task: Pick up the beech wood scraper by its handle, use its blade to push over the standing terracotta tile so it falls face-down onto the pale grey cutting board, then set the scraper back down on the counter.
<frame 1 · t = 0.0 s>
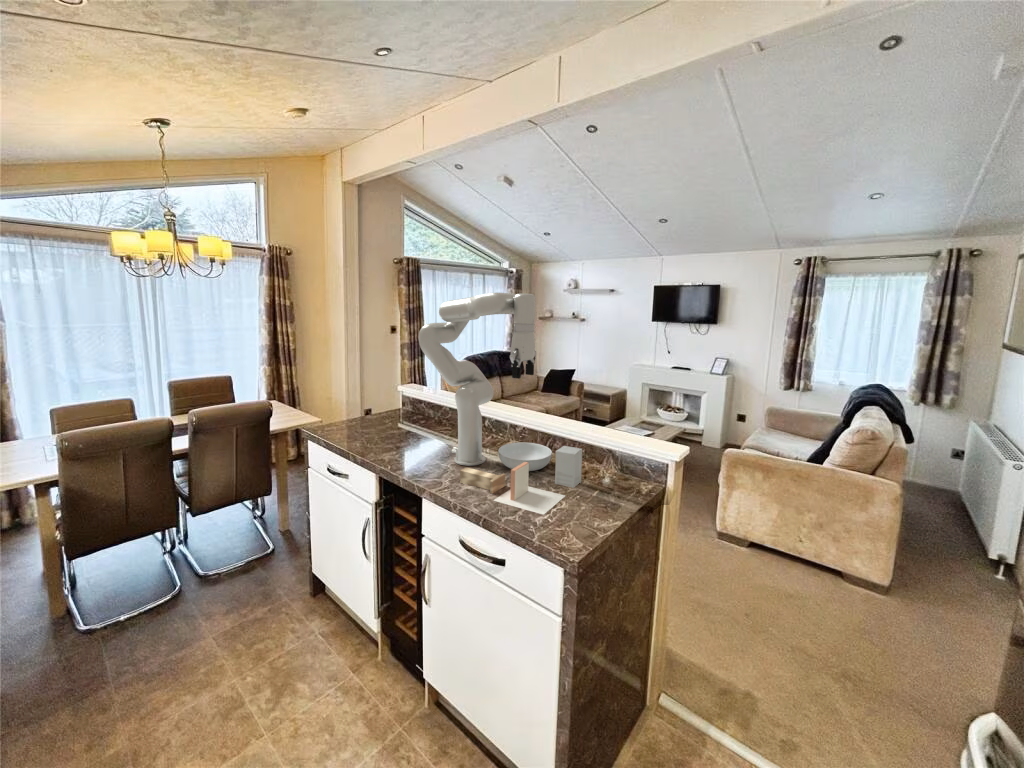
hand: (523, 376, 159), 37 cm above the counter, tool pointing down, fingers open, 9 cm apart
tile: (519, 495, 144), point 1 cm above the counter, touching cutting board
serving bowl: (524, 467, 171), on the counter
scraper: (491, 489, 150), on the counter
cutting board: (529, 499, 142), on the counter
supplement box: (567, 484, 156), on the counter
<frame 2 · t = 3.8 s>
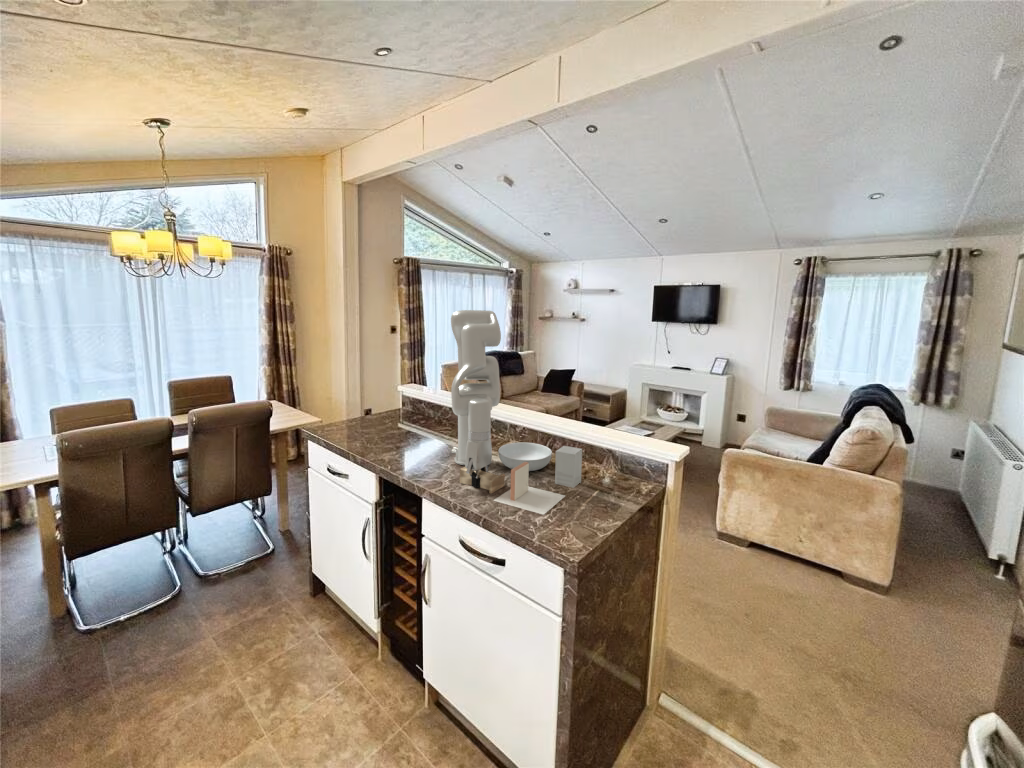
hand: (479, 485, 152), 0 cm above the counter, tool pointing down, fingers closed on scraper, 3 cm apart
scraper: (490, 489, 150), on the counter, touching gripper
everything else where it was.
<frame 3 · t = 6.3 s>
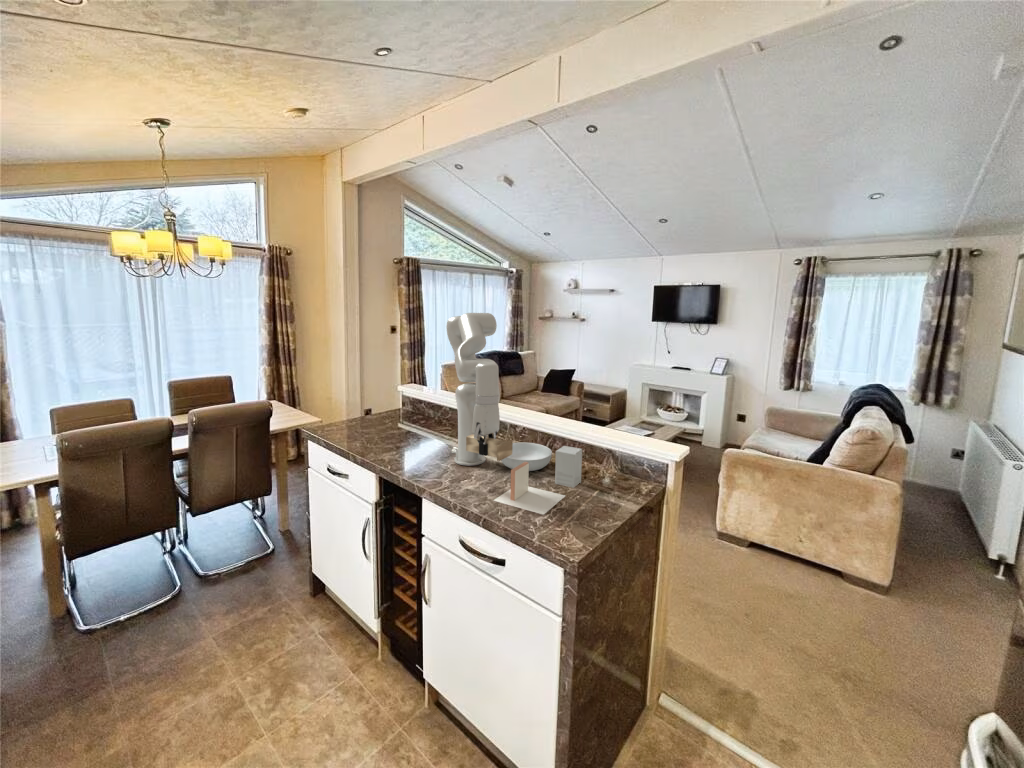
hand: (487, 452, 148), 13 cm above the counter, tool pointing down, fingers closed on scraper, 3 cm apart
scraper: (498, 455, 146), point 13 cm above the counter, touching gripper
everything else where it was.
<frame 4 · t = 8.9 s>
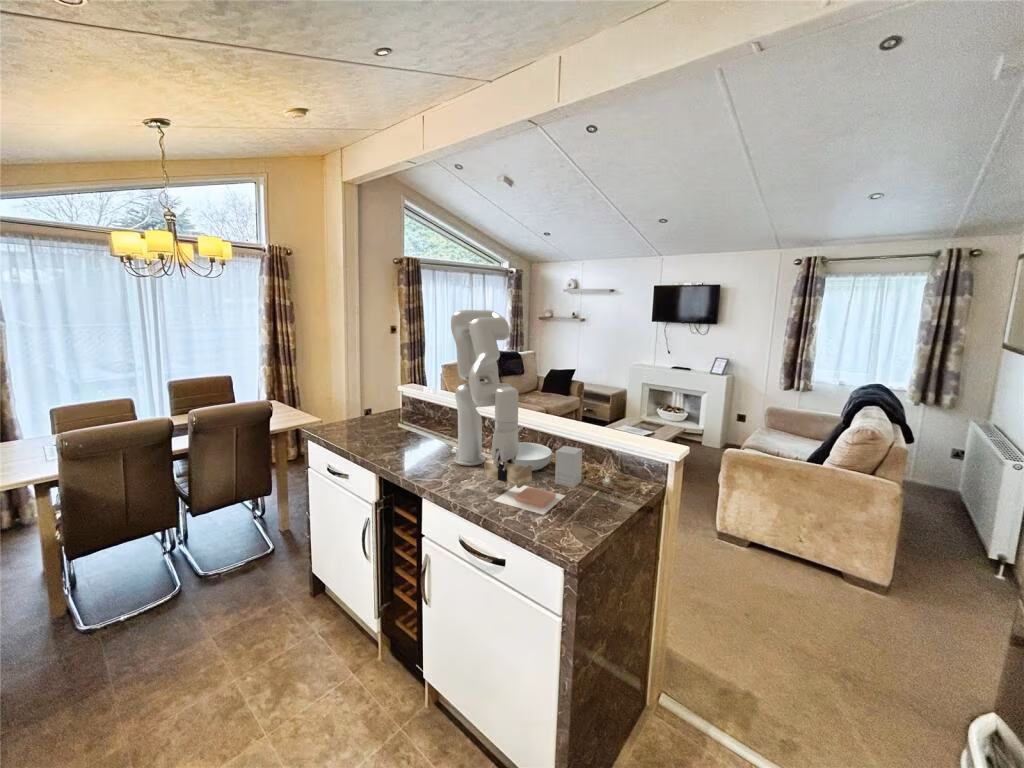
hand: (505, 478, 146), 5 cm above the counter, tool pointing down, fingers closed on scraper, 3 cm apart
tile: (522, 493, 143), point 2 cm above the counter, tilted 90°, touching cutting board
scraper: (517, 482, 144), point 5 cm above the counter, touching gripper
everything else where it was.
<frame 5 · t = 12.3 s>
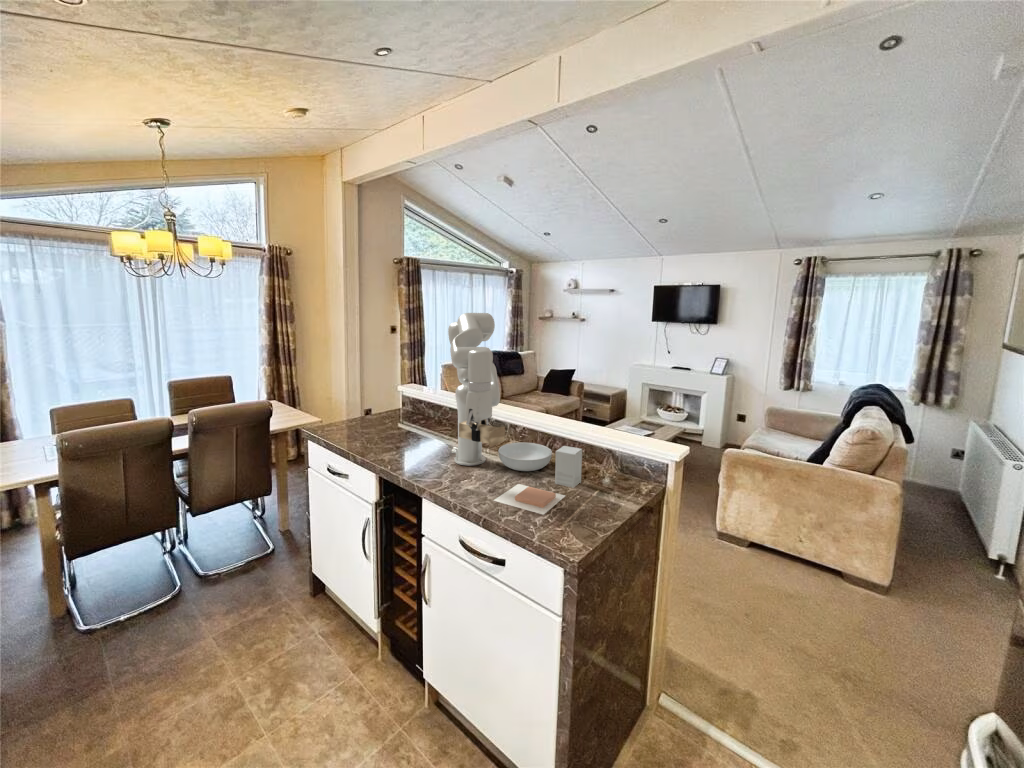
hand: (479, 439, 149), 17 cm above the counter, tool pointing down, fingers closed on scraper, 3 cm apart
scraper: (490, 442, 147), point 17 cm above the counter, touching gripper
everything else where it was.
when the fingers open (2 cm above the counter, at t = 15.4 s): scraper drops 2 cm, on the counter.
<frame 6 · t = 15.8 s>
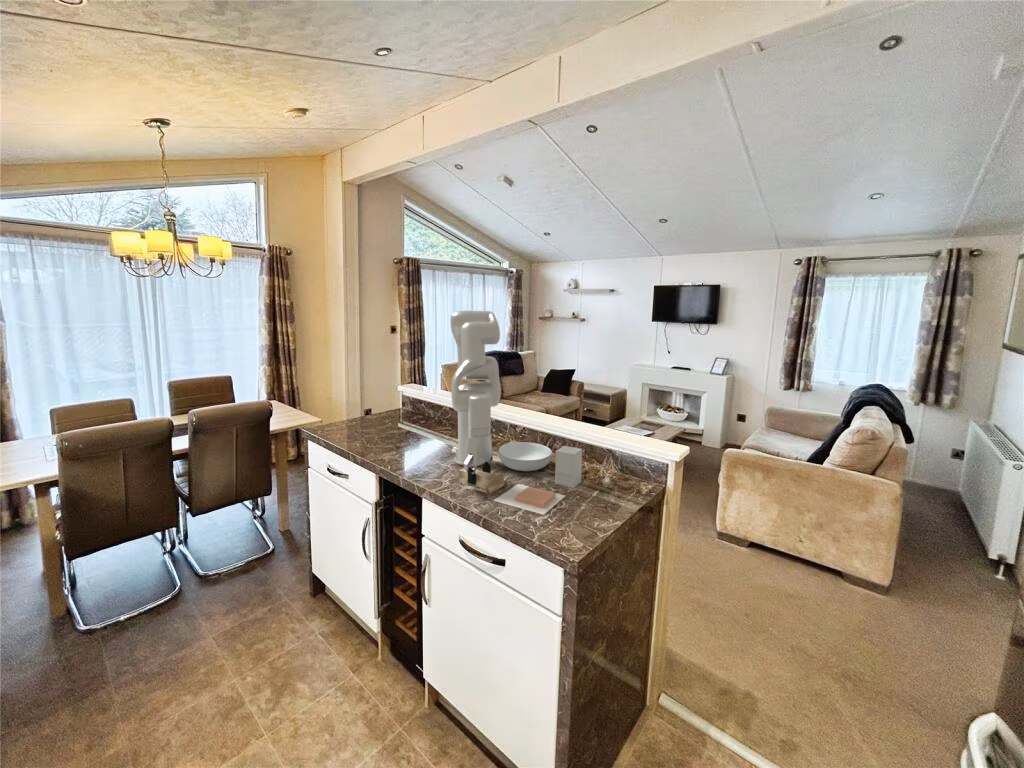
hand: (479, 479, 152), 2 cm above the counter, tool pointing down, fingers open, 8 cm apart
scraper: (490, 489, 150), on the counter
everything else where it was.
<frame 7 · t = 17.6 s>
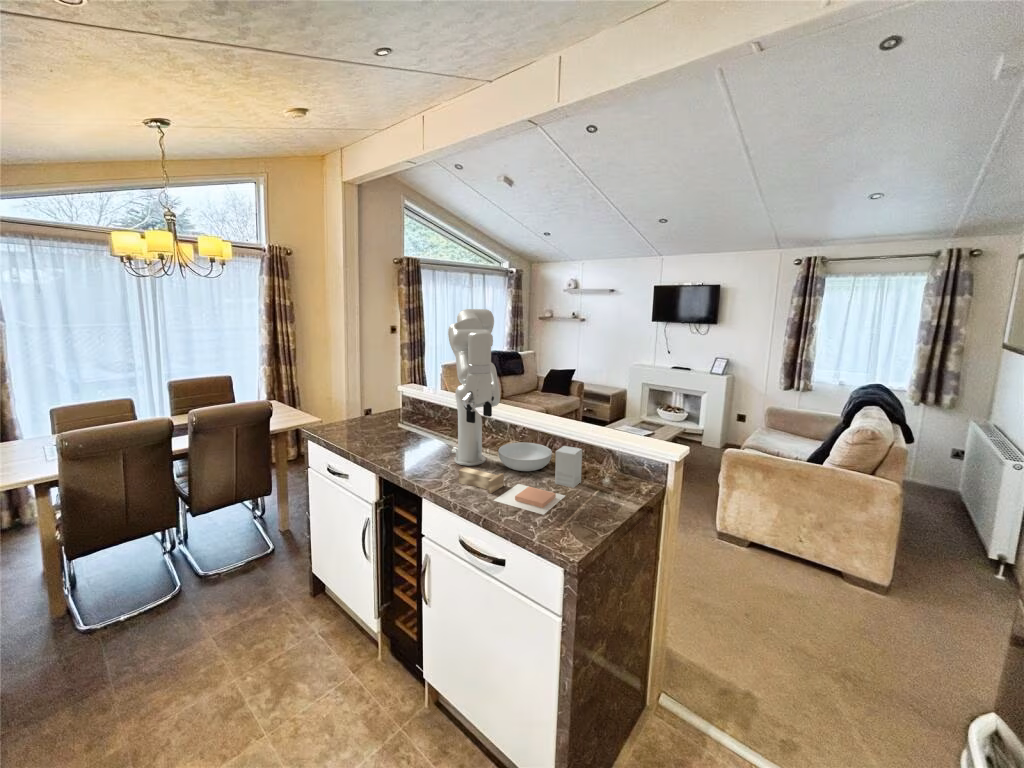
hand: (479, 419, 148), 24 cm above the counter, tool pointing down, fingers open, 9 cm apart
nothing on the counter moved.
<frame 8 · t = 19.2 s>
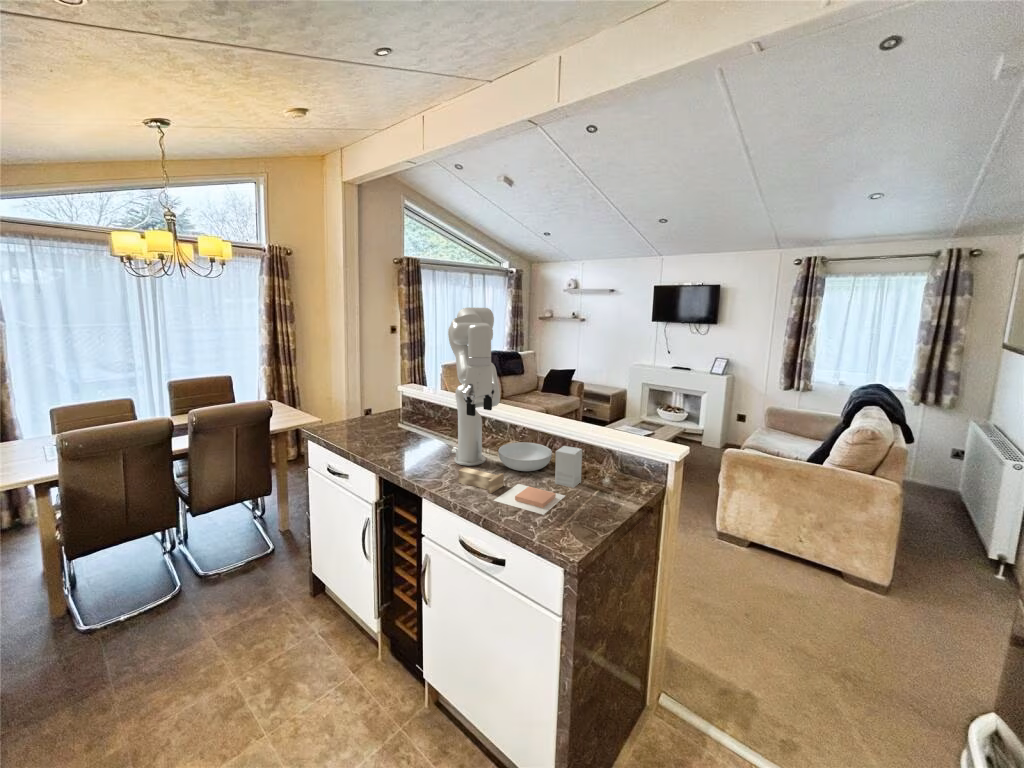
hand: (479, 412, 148), 26 cm above the counter, tool pointing down, fingers open, 9 cm apart
nothing on the counter moved.
at the end: tile tilted 90°; tile inside the target area (3.0 cm from its centre), point 1.5 cm above the counter; scraper touching counter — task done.
